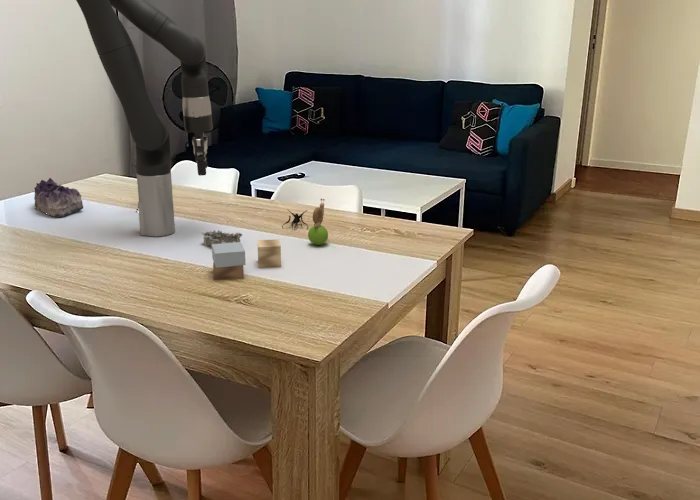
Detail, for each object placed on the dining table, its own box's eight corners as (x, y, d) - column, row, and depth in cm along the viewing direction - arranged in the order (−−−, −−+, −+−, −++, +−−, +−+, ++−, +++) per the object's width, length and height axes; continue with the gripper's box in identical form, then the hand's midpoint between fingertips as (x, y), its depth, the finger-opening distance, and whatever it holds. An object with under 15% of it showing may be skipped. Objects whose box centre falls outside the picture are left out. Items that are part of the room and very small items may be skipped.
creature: (307, 235, 208) (311, 222, 215) (306, 219, 206) (310, 206, 212) (280, 234, 209) (285, 221, 216) (279, 218, 206) (284, 205, 213)
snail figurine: (332, 241, 199) (332, 199, 196) (323, 248, 194) (323, 205, 190) (313, 239, 201) (313, 197, 197) (305, 246, 195) (304, 203, 191)
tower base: (213, 280, 172) (213, 267, 170) (214, 270, 178) (213, 257, 177) (243, 279, 173) (243, 265, 171) (243, 269, 179) (242, 256, 178)
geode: (20, 209, 228) (19, 177, 226) (55, 206, 237) (54, 176, 235) (52, 219, 215) (51, 185, 213) (88, 216, 224) (88, 183, 222)
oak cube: (258, 268, 179) (258, 247, 178) (258, 260, 184) (257, 240, 183) (281, 267, 180) (280, 246, 178) (279, 259, 185) (279, 239, 183)
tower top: (215, 267, 170) (215, 253, 169) (212, 257, 176) (211, 244, 175) (245, 265, 172) (245, 251, 171) (241, 255, 178) (240, 242, 177)
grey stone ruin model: (244, 248, 194) (244, 233, 193) (221, 254, 190) (221, 239, 188) (222, 238, 201) (221, 225, 200) (199, 244, 197) (199, 230, 195)
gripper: (184, 110, 203) (190, 167, 208) (181, 117, 190) (187, 178, 195) (212, 108, 204) (217, 165, 209) (210, 116, 191) (215, 176, 196)
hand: (202, 171), depth 202 cm, fingers open, 8 cm apart
